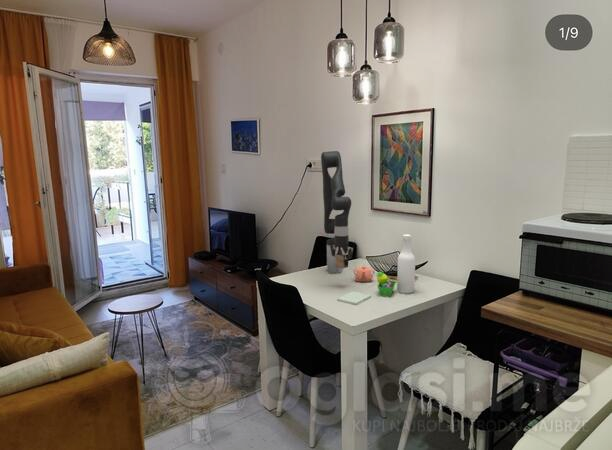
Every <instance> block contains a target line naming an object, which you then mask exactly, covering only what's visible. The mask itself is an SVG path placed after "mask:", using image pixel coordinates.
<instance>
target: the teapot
mask: <svg viewBox="0 0 612 450" xmlns="http://www.w3.org/2000/svg"><path fill="white" fill-rule="evenodd" d="M353 274H354V279H356V282H359V283H362V282H365V283H369V282H370V283H371V282H372V279H374V274H375V270H374V269H373V268H372V267H370V266H369V267H367V266H365V264H364V265H363V266H356V268H355V269H353Z"/></svg>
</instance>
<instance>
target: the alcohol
mask: <svg viewBox="0 0 612 450" xmlns="http://www.w3.org/2000/svg"><path fill="white" fill-rule="evenodd" d="M411 238H412V235H411V234H407V233H406V234H403V235H402V246H401V252H400V253H399V254H398V257H397V271H396V273H397V274H396V275H397V281H396V282H397V283H396V286H397V287H396V290H397V292H398V293H400V294H406V295H407V294H408V295H409V294H413V293H414V292H415V290H416V289H415V287H416V286H415V285H416V284H415V281H416V280H415V279H416V256H415V255H414V253H412V252H413V251H412V242H411Z"/></svg>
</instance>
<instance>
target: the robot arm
mask: <svg viewBox="0 0 612 450" xmlns="http://www.w3.org/2000/svg"><path fill="white" fill-rule="evenodd" d="M320 155H321V156H320V162H321V171H322V172H321V173H322V197H323V206H324V207H323V208H324V209H323V212H324V213H323V215H324V216H323V229H324V233H325V234H329V235H330V234H331V235H334V236H333V237H331V238H329V239H327V240H326V272H327V273H329V274H341V273H342V272H343V270H344V269H342V268H337V267H335V255H336V254H340V253H342V254H343V255H344V258H345V260H344V263H345V266H348V267H349V259H353V258H352V257H353V254H354V253H353V252H354V247H350V246H349V240H350V239H349V238H350V237H349V216H350V211H351V207H352V199H351V198H350V197H349V196H344V195H345V194H346V189H345V183H344V179H343V177H344V176H343V167H342V166H343V164H342V156H341V153H340V151H338V150H333V151H332V150H331V151H324V152H322V153H321V154H320ZM332 168H333V169H334V168H335V172H334V174H333V176H331V175H330V173H329V169H332ZM333 210H334V211H342V213H339V214H335V216H334V218H330V217H331V214H332V212H333Z"/></svg>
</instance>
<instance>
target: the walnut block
mask: <svg viewBox="0 0 612 450" xmlns="http://www.w3.org/2000/svg"><path fill="white" fill-rule="evenodd" d="M344 260H345V258H344V255H343V254H342V253H340V254H336V255H335V267H337V268H342V269H343V270H344V269H346V268H348V267H349V265H348V266H345V263H344Z"/></svg>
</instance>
